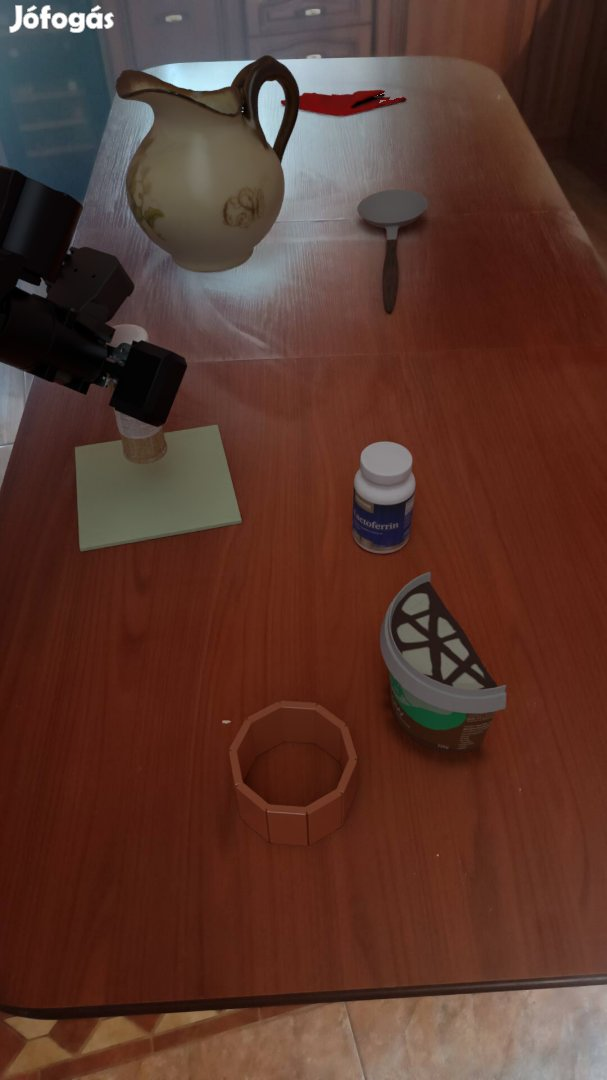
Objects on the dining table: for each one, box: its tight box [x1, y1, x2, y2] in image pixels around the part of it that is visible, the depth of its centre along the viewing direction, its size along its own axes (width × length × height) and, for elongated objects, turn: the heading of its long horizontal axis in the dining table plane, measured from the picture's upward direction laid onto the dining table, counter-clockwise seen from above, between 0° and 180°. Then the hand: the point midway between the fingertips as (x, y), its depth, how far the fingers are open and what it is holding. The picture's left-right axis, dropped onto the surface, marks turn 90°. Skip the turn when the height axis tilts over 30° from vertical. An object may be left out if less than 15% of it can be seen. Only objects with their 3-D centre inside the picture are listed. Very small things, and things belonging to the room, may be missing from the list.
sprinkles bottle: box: [106, 323, 167, 464], centre depth 76 cm, size 5×5×14 cm
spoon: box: [356, 189, 429, 313], centre depth 118 cm, size 11×33×3 cm, turn 175°
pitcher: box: [115, 54, 301, 273], centre depth 112 cm, size 22×24×25 cm
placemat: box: [74, 424, 243, 553], centre depth 84 cm, size 16×16×1 cm
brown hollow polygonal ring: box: [228, 700, 358, 847], centre depth 59 cm, size 9×9×5 cm
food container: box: [379, 571, 507, 754], centre depth 61 cm, size 12×6×10 cm, turn 21°
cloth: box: [280, 89, 408, 117], centre depth 164 cm, size 26×14×2 cm, turn 79°
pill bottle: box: [351, 441, 417, 555], centre depth 75 cm, size 6×6×10 cm
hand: (142, 383), depth 77 cm, fingers closed on sprinkles bottle, 4 cm apart
